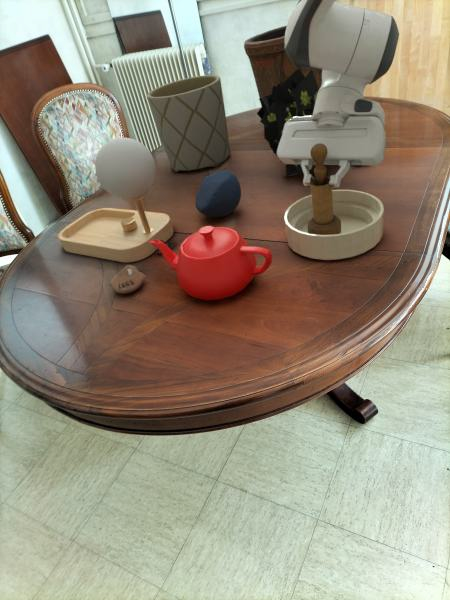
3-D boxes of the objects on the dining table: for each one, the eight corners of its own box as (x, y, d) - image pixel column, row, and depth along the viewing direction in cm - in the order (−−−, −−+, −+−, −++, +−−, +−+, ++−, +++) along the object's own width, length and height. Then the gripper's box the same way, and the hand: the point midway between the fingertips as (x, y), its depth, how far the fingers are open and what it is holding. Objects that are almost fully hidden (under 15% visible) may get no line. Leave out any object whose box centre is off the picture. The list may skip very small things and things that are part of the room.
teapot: (287, 262, 83) (280, 207, 76) (264, 314, 72) (253, 255, 65) (178, 258, 93) (162, 209, 86) (144, 302, 82) (123, 250, 75)
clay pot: (306, 147, 130) (297, 36, 112) (242, 138, 150) (226, 43, 131) (354, 119, 141) (353, 15, 123) (289, 115, 161) (279, 23, 143)
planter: (239, 144, 145) (225, 70, 131) (228, 170, 128) (211, 88, 114) (178, 153, 151) (159, 83, 137) (159, 179, 134) (135, 102, 120)
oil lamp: (159, 280, 89) (134, 273, 94) (155, 263, 87) (129, 257, 92) (128, 300, 83) (103, 292, 88) (123, 283, 81) (97, 275, 86)
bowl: (380, 211, 91) (381, 185, 88) (385, 261, 77) (386, 233, 73) (292, 217, 97) (289, 193, 93) (282, 264, 83) (278, 238, 79)
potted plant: (365, 153, 121) (311, 57, 113) (380, 160, 100) (315, 43, 93) (301, 195, 128) (246, 107, 121) (302, 209, 107) (237, 104, 100)
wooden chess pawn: (321, 244, 82) (314, 154, 71) (301, 232, 87) (292, 147, 76) (348, 231, 84) (345, 141, 73) (327, 220, 89) (322, 135, 78)
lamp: (56, 250, 109) (6, 155, 94) (101, 218, 120) (63, 128, 104) (151, 268, 92) (109, 156, 77) (193, 228, 103) (164, 123, 87)
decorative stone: (230, 199, 112) (222, 162, 106) (253, 212, 103) (246, 174, 97) (191, 215, 109) (181, 179, 103) (212, 231, 100) (203, 192, 94)
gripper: (280, 109, 82) (265, 177, 82) (388, 102, 71) (371, 181, 71) (292, 124, 87) (277, 189, 87) (394, 120, 76) (378, 193, 76)
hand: (320, 185), depth 79 cm, fingers closed on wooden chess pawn, 4 cm apart
